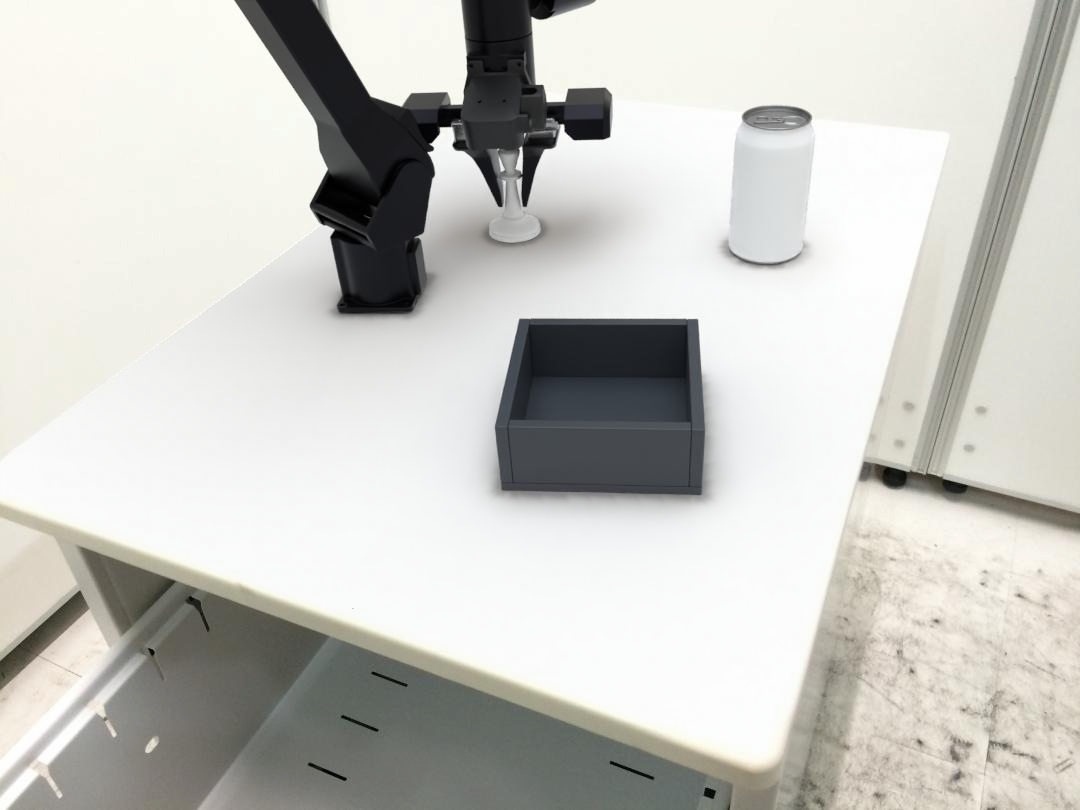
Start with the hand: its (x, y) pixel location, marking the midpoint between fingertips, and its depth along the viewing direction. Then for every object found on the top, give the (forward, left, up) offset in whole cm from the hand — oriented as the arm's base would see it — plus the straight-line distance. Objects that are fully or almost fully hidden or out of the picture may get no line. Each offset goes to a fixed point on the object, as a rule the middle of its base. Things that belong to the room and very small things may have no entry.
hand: (513, 205), depth 88 cm
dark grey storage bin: (+10, -31, -3) cm, 32 cm away
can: (+23, -4, -3) cm, 24 cm away
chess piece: (0, 0, -3) cm, 3 cm away
